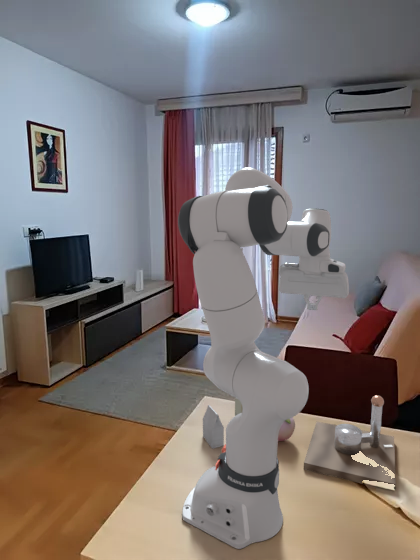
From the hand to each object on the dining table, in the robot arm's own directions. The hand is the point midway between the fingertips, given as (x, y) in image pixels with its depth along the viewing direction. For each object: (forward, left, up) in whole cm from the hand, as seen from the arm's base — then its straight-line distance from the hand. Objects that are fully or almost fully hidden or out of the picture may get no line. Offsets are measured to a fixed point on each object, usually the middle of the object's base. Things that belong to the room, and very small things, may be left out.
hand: (312, 309), depth 123 cm
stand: (+14, -13, -37) cm, 42 cm away
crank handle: (+16, -11, -35) cm, 40 cm away
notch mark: (+23, -8, -35) cm, 43 cm away
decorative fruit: (-6, -13, -37) cm, 40 cm away
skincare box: (-19, -5, -37) cm, 42 cm away
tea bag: (-24, -21, -37) cm, 49 cm away
